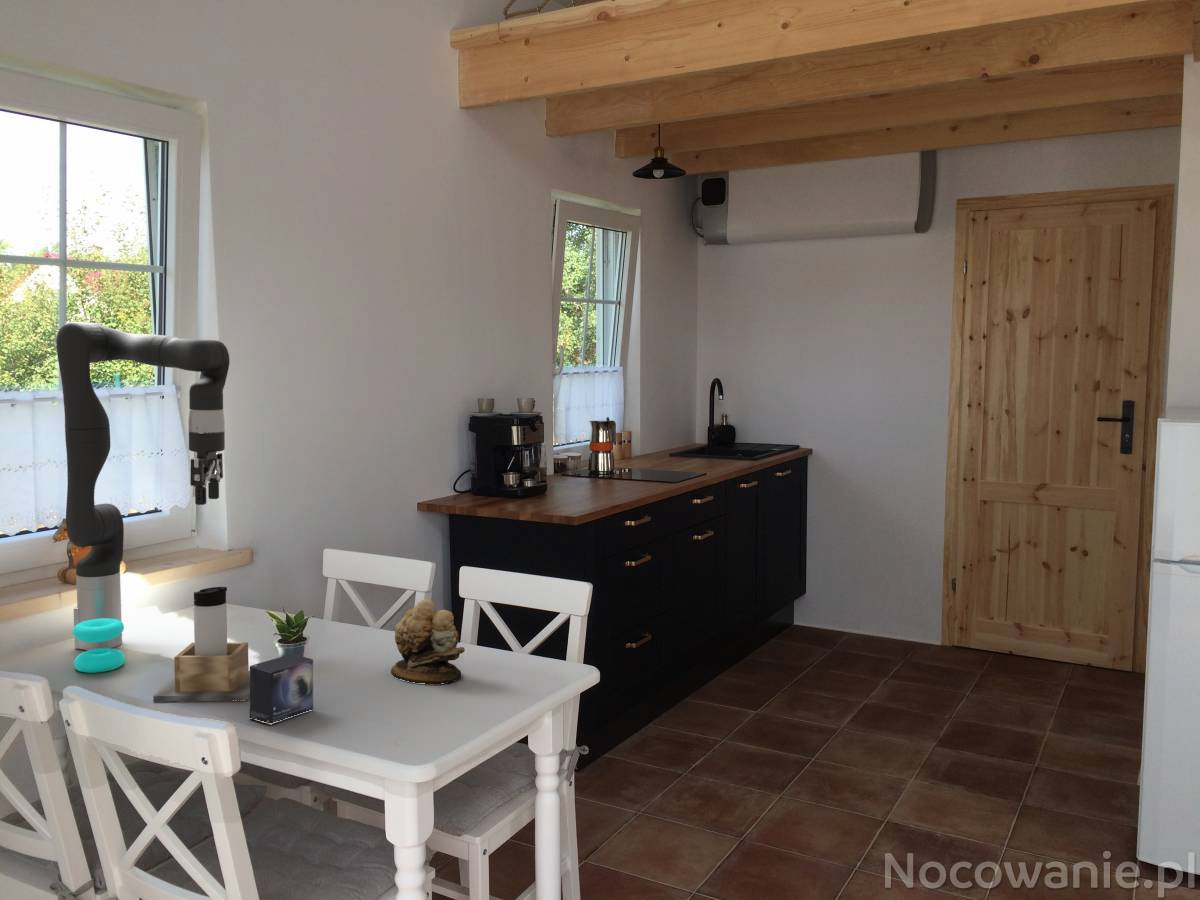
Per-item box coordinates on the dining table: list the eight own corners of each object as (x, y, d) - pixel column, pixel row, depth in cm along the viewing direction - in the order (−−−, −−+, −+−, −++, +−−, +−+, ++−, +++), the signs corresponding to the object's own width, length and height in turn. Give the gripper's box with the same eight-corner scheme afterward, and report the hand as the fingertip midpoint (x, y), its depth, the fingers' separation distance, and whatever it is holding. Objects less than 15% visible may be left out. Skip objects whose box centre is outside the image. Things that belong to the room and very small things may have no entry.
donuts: (86, 616, 226) (131, 617, 226) (88, 660, 227) (133, 660, 227) (63, 628, 216) (110, 628, 216) (65, 674, 217) (112, 674, 217)
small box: (271, 727, 188) (270, 671, 187) (248, 720, 191) (247, 665, 190) (315, 710, 197) (314, 658, 196) (292, 704, 200) (291, 652, 199)
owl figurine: (478, 675, 220) (478, 598, 219) (445, 691, 210) (445, 610, 208) (412, 662, 229) (411, 588, 227) (377, 676, 218) (376, 599, 217)
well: (153, 702, 200) (152, 661, 200) (181, 676, 216) (181, 638, 216) (246, 701, 201) (245, 660, 201) (267, 676, 217) (267, 638, 217)
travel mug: (218, 688, 205) (216, 591, 203) (189, 686, 206) (186, 589, 204) (235, 679, 211) (233, 584, 209) (206, 677, 212) (204, 583, 211)
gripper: (200, 427, 233) (201, 496, 235) (177, 431, 219) (178, 506, 221) (233, 427, 234) (234, 497, 235) (213, 432, 220) (213, 506, 221)
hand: (207, 501), depth 228 cm, fingers open, 8 cm apart
